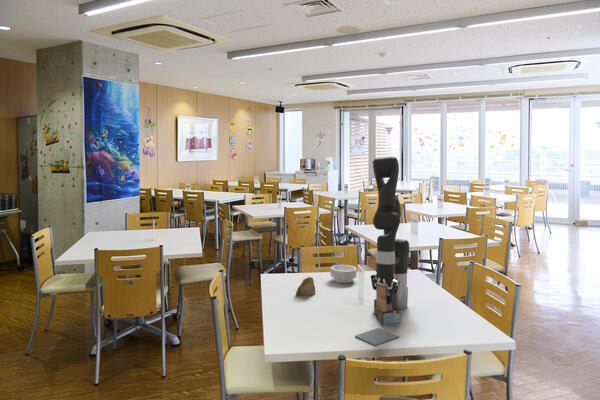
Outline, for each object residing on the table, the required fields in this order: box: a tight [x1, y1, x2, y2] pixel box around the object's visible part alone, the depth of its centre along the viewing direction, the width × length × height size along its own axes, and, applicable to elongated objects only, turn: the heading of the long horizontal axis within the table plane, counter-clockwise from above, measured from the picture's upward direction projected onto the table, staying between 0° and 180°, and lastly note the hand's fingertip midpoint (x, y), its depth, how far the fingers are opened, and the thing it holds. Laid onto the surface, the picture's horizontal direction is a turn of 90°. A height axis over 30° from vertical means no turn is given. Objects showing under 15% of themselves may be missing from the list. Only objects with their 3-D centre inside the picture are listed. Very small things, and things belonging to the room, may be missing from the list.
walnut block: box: [375, 282, 393, 312], centre depth 185 cm, size 4×4×11 cm
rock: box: [295, 276, 316, 297], centre depth 240 cm, size 11×9×10 cm
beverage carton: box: [373, 298, 401, 327], centre depth 206 cm, size 8×19×7 cm, turn 3°
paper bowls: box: [330, 264, 358, 284], centre depth 266 cm, size 15×15×8 cm
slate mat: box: [354, 327, 400, 347], centre depth 185 cm, size 14×11×1 cm
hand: (384, 302), depth 186 cm, fingers closed on walnut block, 4 cm apart
